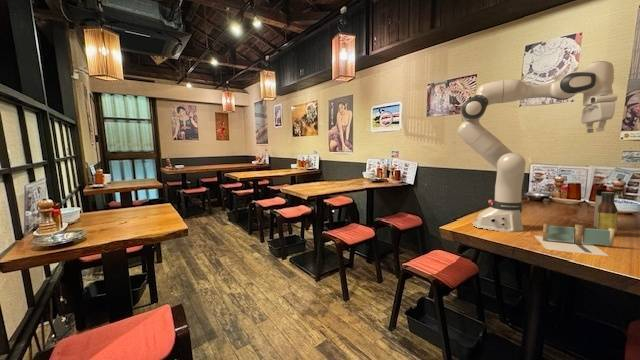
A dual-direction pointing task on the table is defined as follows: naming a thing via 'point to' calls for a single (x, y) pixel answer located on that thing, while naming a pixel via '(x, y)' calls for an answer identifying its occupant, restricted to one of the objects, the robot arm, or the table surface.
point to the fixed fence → (563, 233)
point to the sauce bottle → (607, 212)
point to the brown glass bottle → (597, 202)
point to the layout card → (570, 246)
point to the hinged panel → (598, 236)
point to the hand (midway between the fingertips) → (594, 132)
